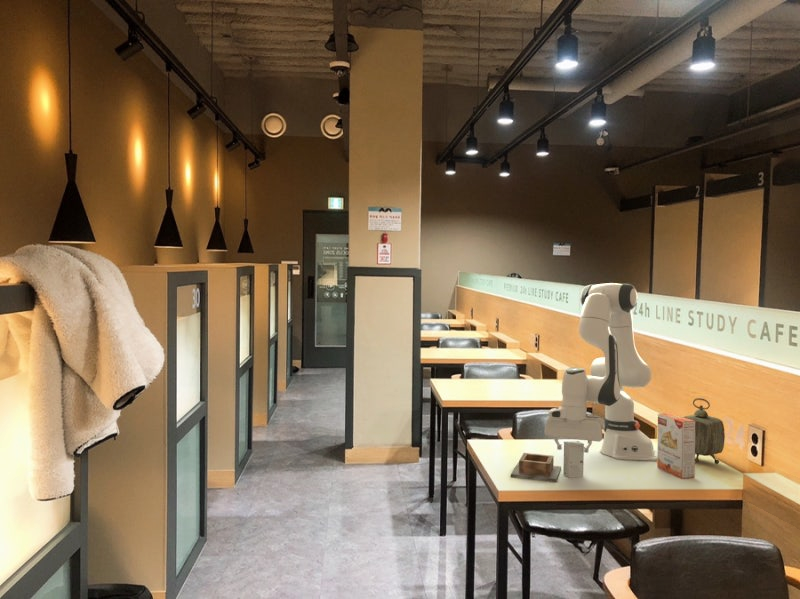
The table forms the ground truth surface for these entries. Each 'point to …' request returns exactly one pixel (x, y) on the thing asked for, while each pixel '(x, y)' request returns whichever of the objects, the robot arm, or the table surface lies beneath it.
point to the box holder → (536, 467)
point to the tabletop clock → (707, 433)
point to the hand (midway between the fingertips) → (572, 450)
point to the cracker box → (676, 445)
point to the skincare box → (573, 459)
